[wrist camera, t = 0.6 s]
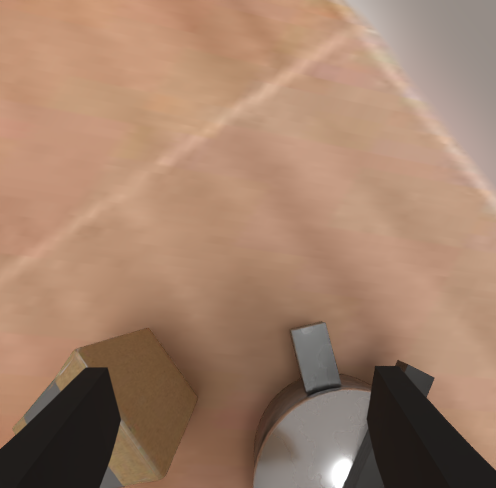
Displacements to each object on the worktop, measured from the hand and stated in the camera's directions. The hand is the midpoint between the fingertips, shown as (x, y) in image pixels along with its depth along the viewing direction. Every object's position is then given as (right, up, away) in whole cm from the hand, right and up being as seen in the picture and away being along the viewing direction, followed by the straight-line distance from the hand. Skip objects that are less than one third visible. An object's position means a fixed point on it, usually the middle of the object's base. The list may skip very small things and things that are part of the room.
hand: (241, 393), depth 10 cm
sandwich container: (-13, -12, +24) cm, 30 cm away
